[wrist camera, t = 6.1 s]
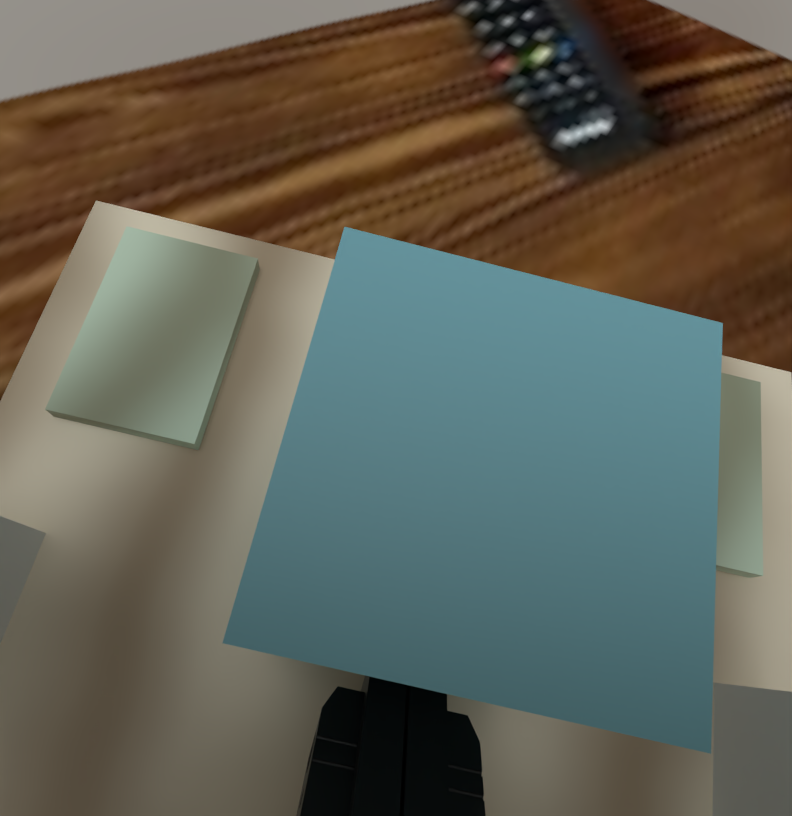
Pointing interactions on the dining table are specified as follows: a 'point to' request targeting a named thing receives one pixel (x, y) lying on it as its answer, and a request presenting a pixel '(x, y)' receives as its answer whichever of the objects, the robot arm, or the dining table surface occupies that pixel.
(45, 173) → the dining table surface
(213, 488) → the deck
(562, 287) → the teal block
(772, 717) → the tunnel
